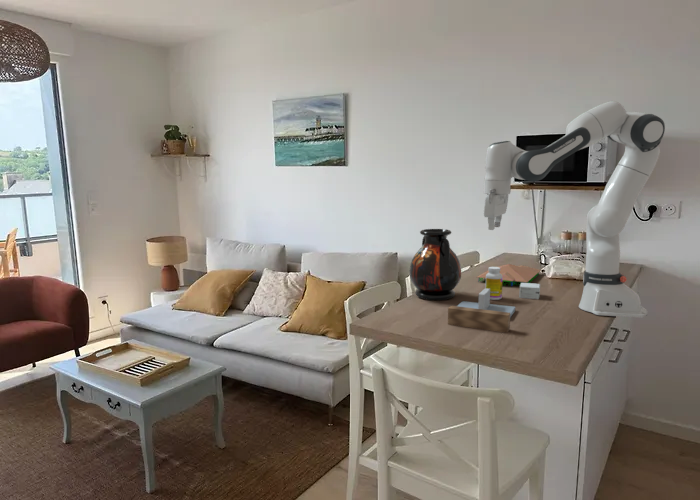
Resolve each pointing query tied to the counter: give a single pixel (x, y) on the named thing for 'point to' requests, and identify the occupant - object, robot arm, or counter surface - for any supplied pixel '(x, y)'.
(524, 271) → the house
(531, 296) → the small box
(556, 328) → the counter surface
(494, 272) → the supplement bottle
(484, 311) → the wooden block
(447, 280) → the amphora vase
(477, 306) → the balance stand
